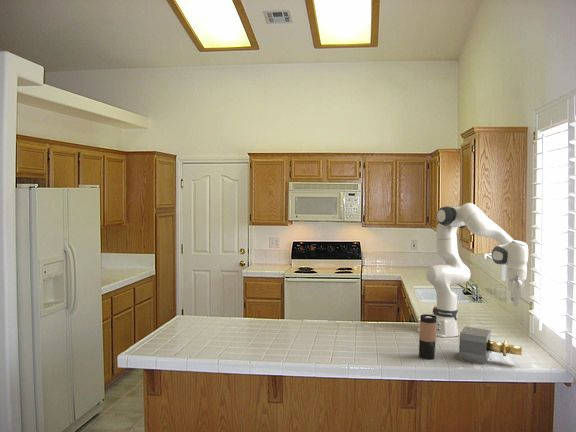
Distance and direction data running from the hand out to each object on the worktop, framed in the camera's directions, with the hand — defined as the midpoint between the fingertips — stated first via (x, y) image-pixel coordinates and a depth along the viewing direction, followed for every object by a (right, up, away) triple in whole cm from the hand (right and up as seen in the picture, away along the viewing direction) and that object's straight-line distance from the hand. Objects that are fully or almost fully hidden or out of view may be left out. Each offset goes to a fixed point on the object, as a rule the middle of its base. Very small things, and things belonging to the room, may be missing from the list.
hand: (514, 303), depth 255 cm
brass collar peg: (-7, -24, -6) cm, 25 cm away
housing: (-19, -27, +1) cm, 33 cm away
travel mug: (-42, -26, -1) cm, 50 cm away
